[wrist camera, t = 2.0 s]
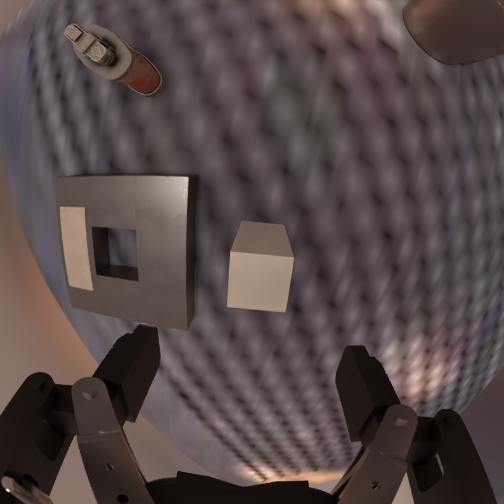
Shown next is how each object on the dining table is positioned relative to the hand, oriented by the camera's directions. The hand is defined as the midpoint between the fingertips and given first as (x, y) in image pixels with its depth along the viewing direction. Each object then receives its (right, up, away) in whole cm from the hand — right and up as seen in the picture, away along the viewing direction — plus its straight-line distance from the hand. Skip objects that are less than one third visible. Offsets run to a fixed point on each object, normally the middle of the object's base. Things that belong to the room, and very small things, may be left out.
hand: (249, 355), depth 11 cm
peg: (+1, +5, +16) cm, 16 cm away
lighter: (-11, +23, +10) cm, 27 cm away
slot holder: (-13, +5, +16) cm, 21 cm away
